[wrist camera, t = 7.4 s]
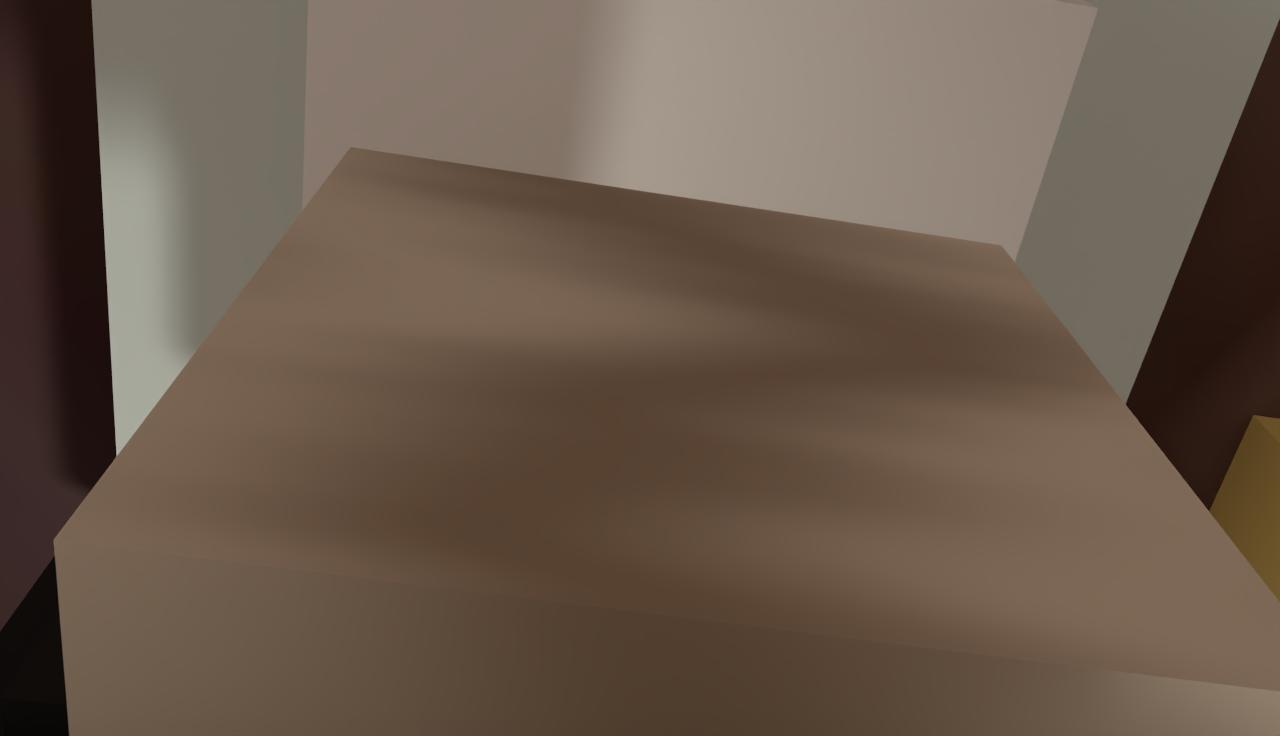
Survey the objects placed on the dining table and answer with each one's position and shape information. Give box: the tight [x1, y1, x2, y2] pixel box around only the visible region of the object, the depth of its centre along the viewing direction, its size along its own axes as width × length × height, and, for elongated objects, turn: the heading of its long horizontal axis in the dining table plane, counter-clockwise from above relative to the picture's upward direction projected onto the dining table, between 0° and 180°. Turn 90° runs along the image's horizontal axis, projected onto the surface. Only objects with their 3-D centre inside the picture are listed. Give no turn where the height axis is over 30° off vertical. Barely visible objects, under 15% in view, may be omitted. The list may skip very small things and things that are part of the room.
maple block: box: [54, 147, 1280, 736], centre depth 10 cm, size 6×6×6 cm
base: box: [91, 0, 1280, 456], centre depth 19 cm, size 18×18×5 cm
